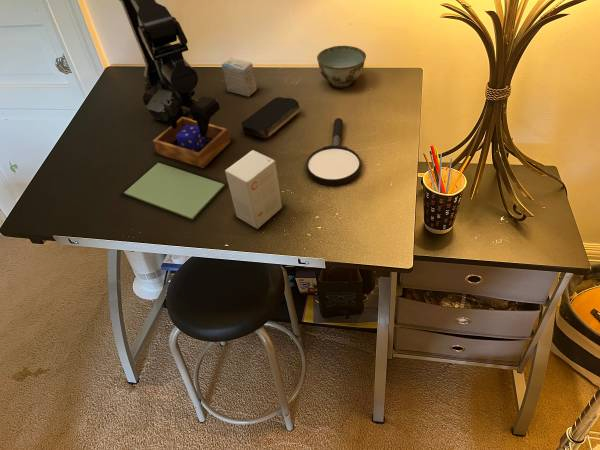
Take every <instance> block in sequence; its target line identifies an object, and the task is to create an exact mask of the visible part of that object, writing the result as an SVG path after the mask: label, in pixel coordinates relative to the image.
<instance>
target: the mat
mask: <svg viewBox="0 0 600 450" xmlns="http://www.w3.org/2000/svg"><path fill="white" fill-rule="evenodd" d="M225 187H226V185H225V184H224V183H222V182H218V181H215V180H212V179H209V178H206V177H203V176H200V175H197V174H194V173H192V172H188V171H185V170H182V169H179V168H176V167H174V166H170V165H167V164H164V163H161V162H157V163H156V164H155V165H153V167H151V168H150V169H149V170H148V171H147V172H145V173H144V174H143V175H142V176H141V177H140V178H139V179H137V180H136V181H135V182H134V183H133V184H132V185H131V186H130V187H129V188H127V189H126V190H125V191H124V192H123V194H124V195H125V196H128V197H131V198H134V199H136V200H139V201H141V202H144V203H147V204H149V205H151V206H153V207H157V208H160V209H162V210H165V211H168V212H170V213H173V214H175V215H178V216H181V217H183V218H186V219H189V220H191V221H193V220H194V219H195V218H196V217H197V216H198V215H199V214H200V213H201V212H202V211H203V210H204V209H205V208H206V207H207V205H208V204H209V203H210V202H212V201H213V199H214V198H215V197H216V196H217V195H218V194H219V193H220V192H221V191H222V190H223V189H224V188H225Z"/></svg>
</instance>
